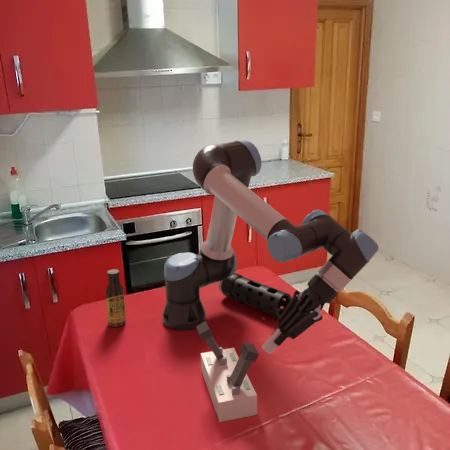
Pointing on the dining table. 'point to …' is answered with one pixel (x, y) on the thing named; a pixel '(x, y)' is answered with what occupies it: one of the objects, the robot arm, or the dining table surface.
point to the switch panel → (227, 386)
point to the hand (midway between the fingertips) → (265, 350)
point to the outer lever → (243, 363)
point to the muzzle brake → (255, 294)
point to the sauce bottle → (115, 300)
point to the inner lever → (209, 339)
